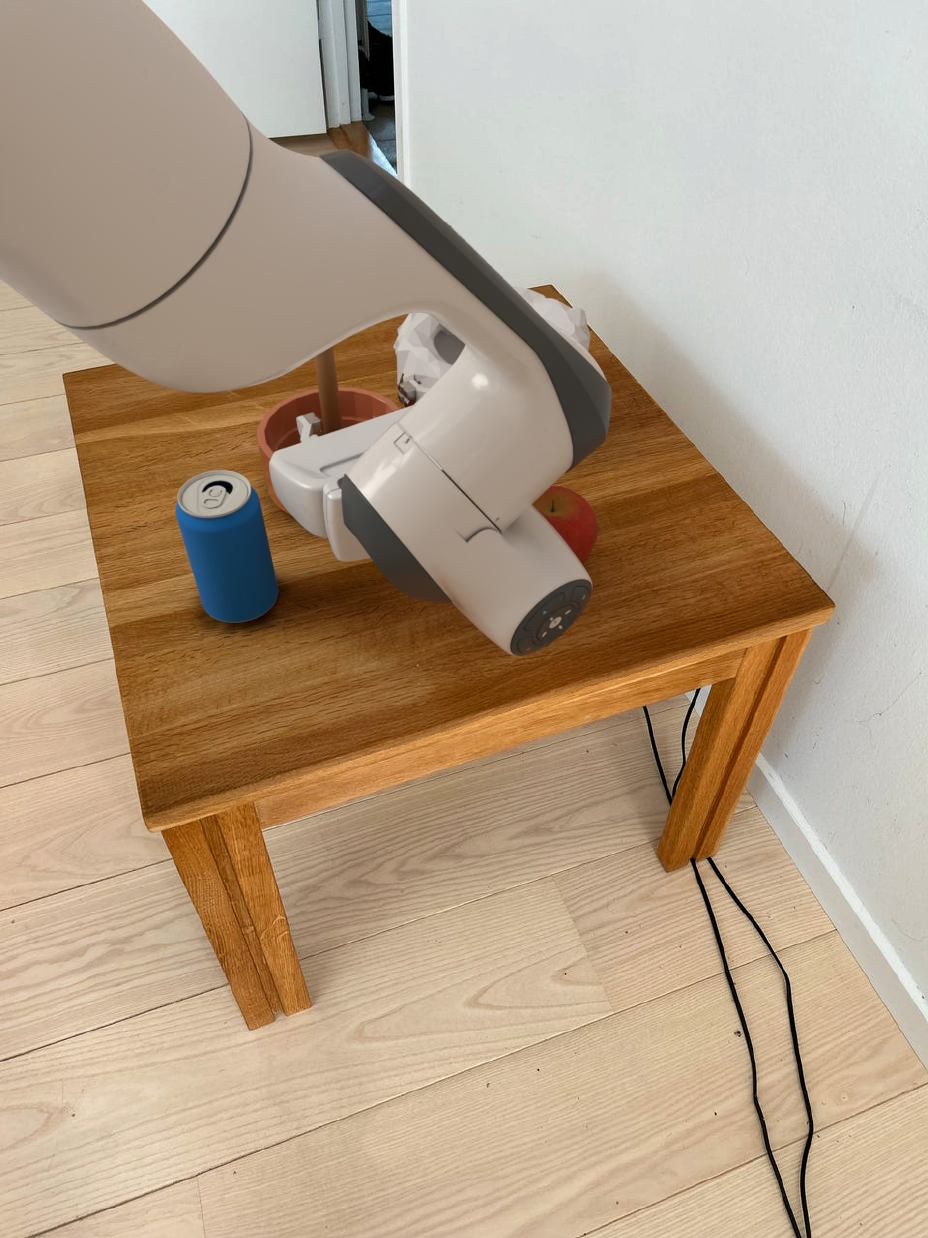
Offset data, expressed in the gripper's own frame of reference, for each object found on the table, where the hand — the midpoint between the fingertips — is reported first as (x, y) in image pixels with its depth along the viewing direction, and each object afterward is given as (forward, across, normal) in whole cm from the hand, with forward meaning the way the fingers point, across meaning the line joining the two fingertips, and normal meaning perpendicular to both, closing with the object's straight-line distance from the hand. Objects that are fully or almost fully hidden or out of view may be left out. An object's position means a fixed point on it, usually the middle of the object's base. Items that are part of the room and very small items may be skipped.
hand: (356, 404), depth 78 cm
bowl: (+10, -20, +13) cm, 26 cm away
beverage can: (-4, +14, +13) cm, 20 cm away
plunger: (+6, 0, +12) cm, 13 cm away
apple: (-14, -11, +13) cm, 22 cm away
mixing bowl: (+6, 0, +12) cm, 14 cm away
